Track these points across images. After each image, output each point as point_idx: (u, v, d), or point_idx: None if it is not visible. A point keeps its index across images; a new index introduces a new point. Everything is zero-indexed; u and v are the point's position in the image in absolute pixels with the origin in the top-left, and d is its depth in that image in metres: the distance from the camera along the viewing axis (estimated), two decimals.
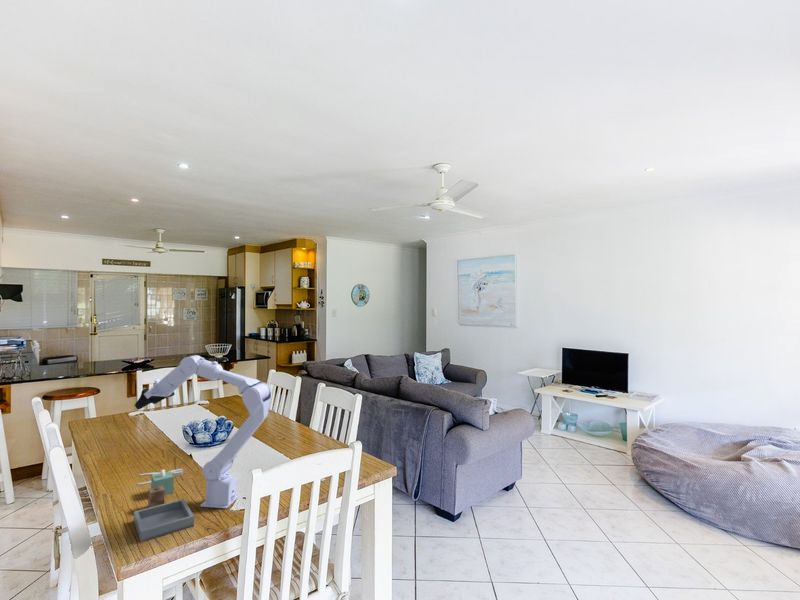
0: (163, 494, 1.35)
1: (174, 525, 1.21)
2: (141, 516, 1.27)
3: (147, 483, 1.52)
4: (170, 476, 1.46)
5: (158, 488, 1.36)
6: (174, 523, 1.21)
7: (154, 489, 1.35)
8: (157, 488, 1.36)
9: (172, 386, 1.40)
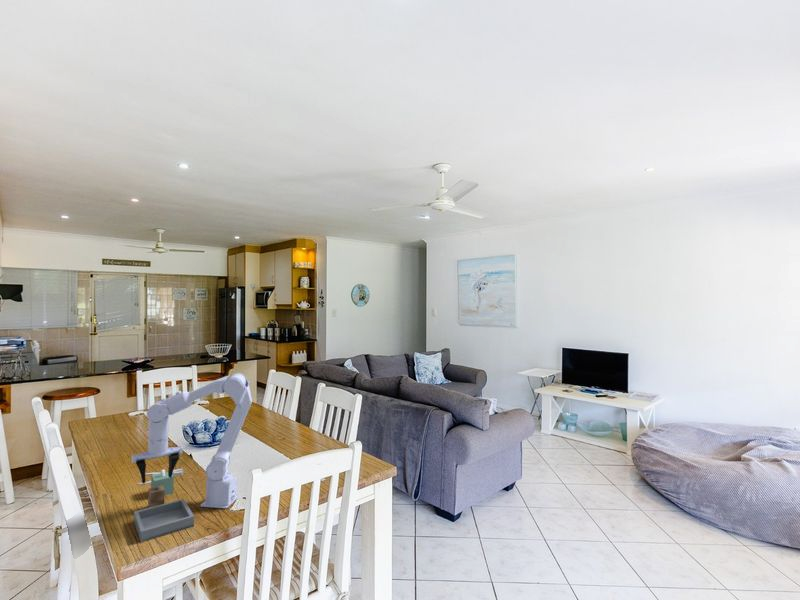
0: (163, 494, 1.35)
1: (174, 525, 1.21)
2: (141, 516, 1.27)
3: (147, 483, 1.52)
4: None
5: (158, 488, 1.36)
6: (174, 523, 1.21)
7: (154, 489, 1.35)
8: (157, 488, 1.36)
9: (152, 441, 1.33)
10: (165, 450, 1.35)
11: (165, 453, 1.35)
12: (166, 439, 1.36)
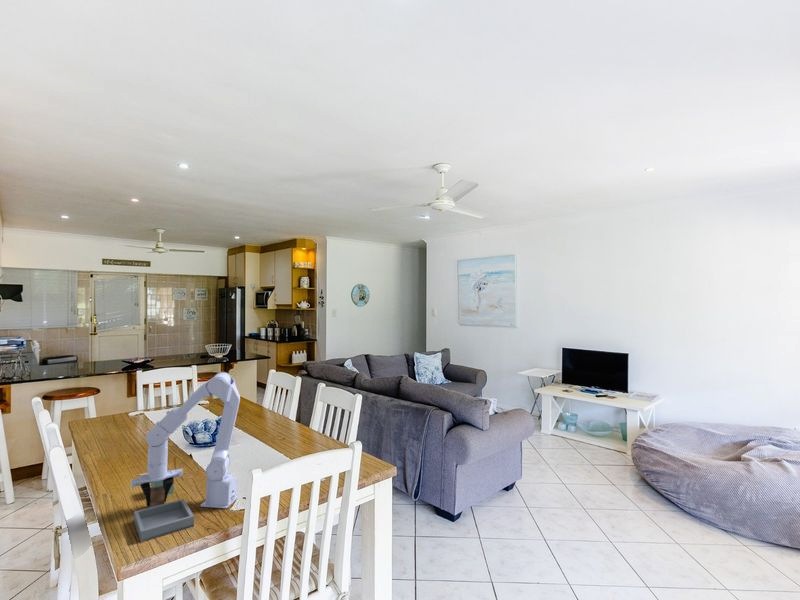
0: (163, 494, 1.35)
1: (174, 525, 1.21)
2: (141, 516, 1.27)
3: None
4: None
5: (158, 488, 1.36)
6: (174, 523, 1.21)
7: (154, 489, 1.35)
8: (157, 488, 1.36)
9: (151, 466, 1.33)
10: (164, 474, 1.35)
11: (164, 477, 1.35)
12: (165, 463, 1.35)
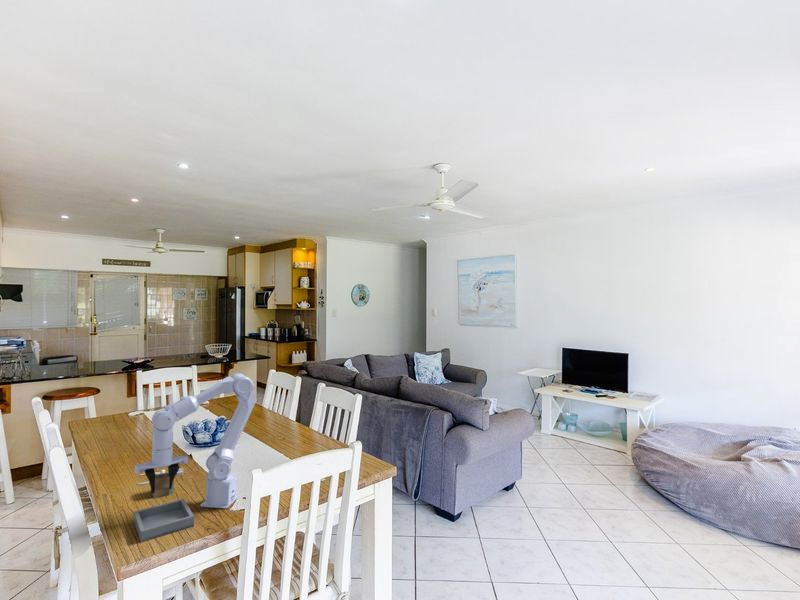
0: (168, 481, 1.30)
1: (174, 525, 1.21)
2: (141, 516, 1.27)
3: (148, 483, 1.52)
4: None
5: (163, 475, 1.31)
6: (174, 523, 1.21)
7: (159, 476, 1.30)
8: (162, 475, 1.31)
9: (156, 451, 1.27)
10: (169, 460, 1.30)
11: (169, 463, 1.29)
12: (170, 448, 1.30)
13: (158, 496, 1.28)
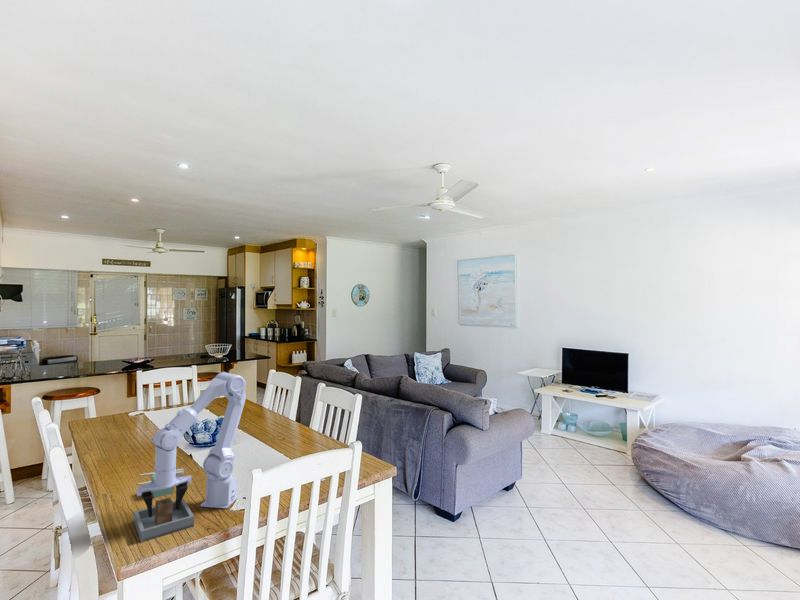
0: (171, 507, 1.26)
1: (174, 525, 1.21)
2: (141, 516, 1.27)
3: (148, 483, 1.52)
4: None
5: (166, 500, 1.27)
6: (174, 523, 1.21)
7: (162, 501, 1.26)
8: (164, 500, 1.27)
9: (159, 472, 1.23)
10: (173, 481, 1.25)
11: (173, 484, 1.25)
12: (174, 469, 1.26)
13: (161, 523, 1.24)
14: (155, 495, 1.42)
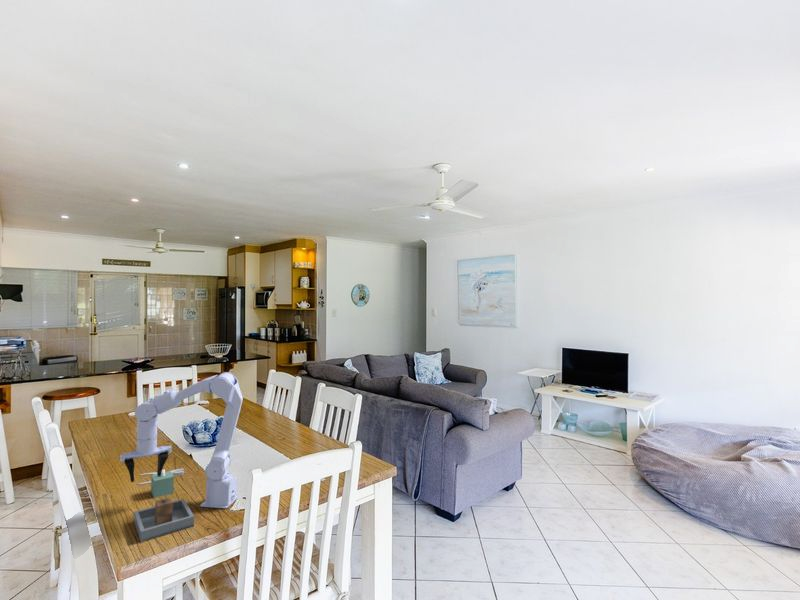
0: (171, 507, 1.26)
1: (174, 525, 1.21)
2: (141, 516, 1.27)
3: (148, 483, 1.52)
4: (170, 476, 1.46)
5: (166, 500, 1.27)
6: (174, 523, 1.21)
7: (162, 501, 1.26)
8: (164, 500, 1.27)
9: (140, 440, 1.33)
10: (154, 449, 1.35)
11: (154, 452, 1.35)
12: (155, 438, 1.36)
13: (161, 523, 1.24)
14: (155, 495, 1.42)
